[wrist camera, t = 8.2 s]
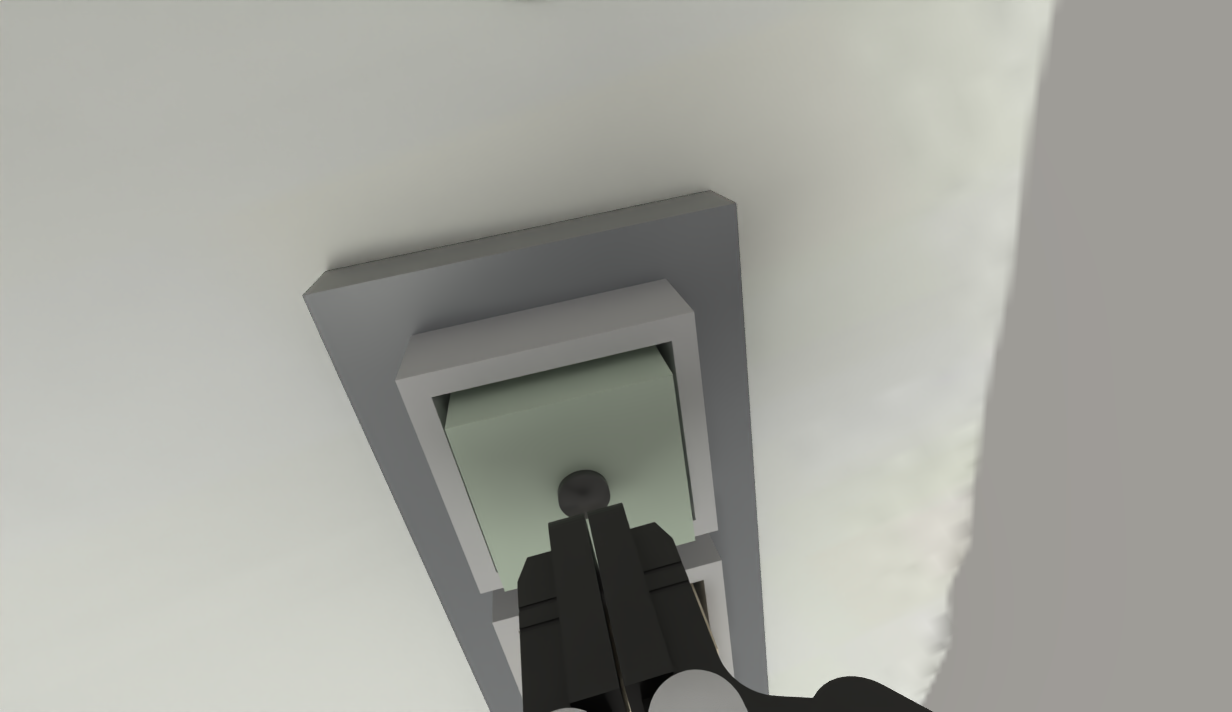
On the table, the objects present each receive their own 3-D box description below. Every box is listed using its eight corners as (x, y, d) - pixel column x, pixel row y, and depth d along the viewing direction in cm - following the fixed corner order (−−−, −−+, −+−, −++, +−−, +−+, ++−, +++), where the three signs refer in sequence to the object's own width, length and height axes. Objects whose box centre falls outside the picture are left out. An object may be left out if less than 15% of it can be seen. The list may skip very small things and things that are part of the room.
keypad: (325, 271, 15) (262, 336, 11) (710, 190, 16) (778, 223, 12) (540, 779, 27) (546, 898, 23) (755, 714, 28) (797, 818, 24)
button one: (456, 357, 15) (443, 437, 12) (637, 316, 15) (676, 381, 12) (504, 500, 17) (504, 601, 14) (661, 460, 18) (698, 548, 14)
